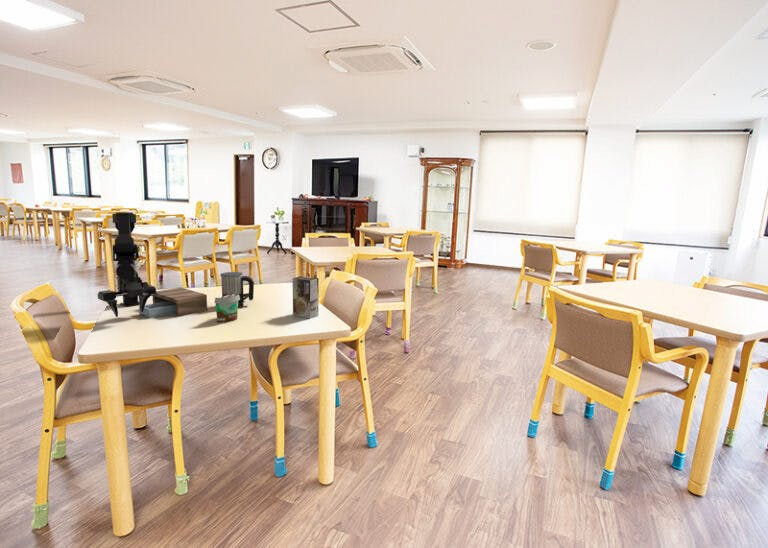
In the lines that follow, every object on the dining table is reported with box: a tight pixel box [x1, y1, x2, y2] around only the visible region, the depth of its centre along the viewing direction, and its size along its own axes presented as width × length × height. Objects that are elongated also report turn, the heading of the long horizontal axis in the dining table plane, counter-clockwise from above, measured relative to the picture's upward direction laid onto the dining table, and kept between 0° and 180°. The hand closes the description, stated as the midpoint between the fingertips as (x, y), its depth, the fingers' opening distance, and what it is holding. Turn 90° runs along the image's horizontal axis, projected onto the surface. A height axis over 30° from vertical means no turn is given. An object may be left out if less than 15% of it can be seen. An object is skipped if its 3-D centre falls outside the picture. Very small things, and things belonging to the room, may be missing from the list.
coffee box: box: [292, 275, 320, 319], centre depth 176 cm, size 9×6×16 cm
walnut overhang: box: [151, 286, 208, 318], centre depth 178 cm, size 20×12×7 cm, turn 55°
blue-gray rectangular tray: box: [138, 301, 176, 319], centre depth 173 cm, size 8×16×4 cm, turn 144°
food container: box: [214, 292, 240, 323], centre depth 167 cm, size 12×6×10 cm, turn 168°
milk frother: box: [219, 271, 255, 309], centre depth 190 cm, size 14×16×15 cm
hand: (129, 314), depth 163 cm, fingers open, 9 cm apart
